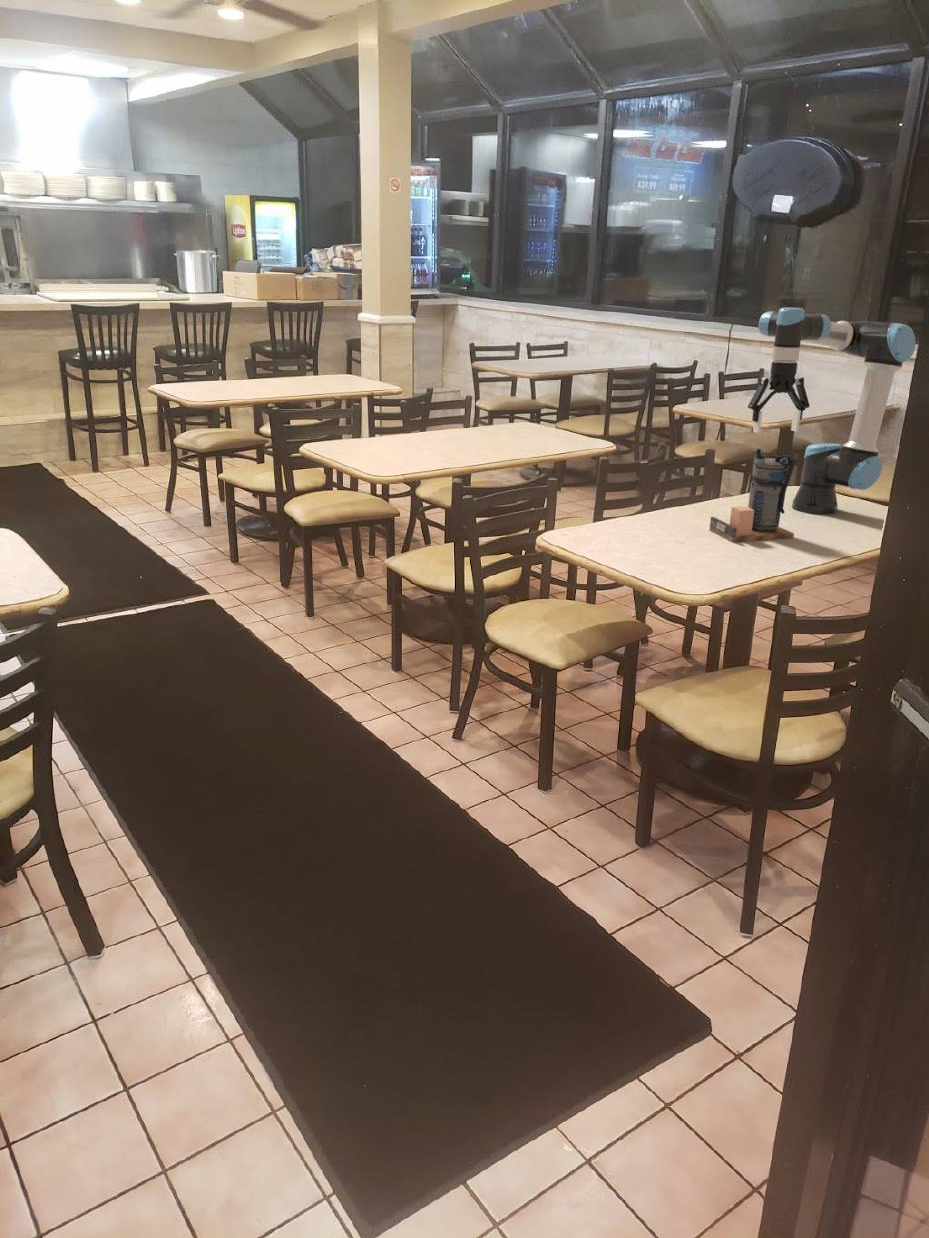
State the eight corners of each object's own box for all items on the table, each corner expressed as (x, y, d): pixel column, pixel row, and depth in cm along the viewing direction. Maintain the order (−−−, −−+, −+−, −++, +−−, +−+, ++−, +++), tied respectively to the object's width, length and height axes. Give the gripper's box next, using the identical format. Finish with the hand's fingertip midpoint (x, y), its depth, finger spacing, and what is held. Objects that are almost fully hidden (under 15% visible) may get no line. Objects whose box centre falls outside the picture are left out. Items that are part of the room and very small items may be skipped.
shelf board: (768, 526, 315) (770, 513, 314) (793, 538, 303) (795, 524, 301) (708, 530, 309) (710, 516, 308) (731, 542, 297) (732, 528, 295)
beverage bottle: (776, 535, 299) (787, 456, 290) (737, 527, 307) (747, 450, 299) (790, 529, 306) (801, 452, 297) (752, 522, 315) (762, 446, 306)
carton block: (742, 530, 304) (745, 506, 301) (751, 534, 300) (754, 510, 297) (728, 531, 303) (731, 507, 300) (737, 535, 298) (740, 510, 296)
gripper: (812, 359, 295) (802, 428, 302) (741, 360, 288) (733, 430, 296) (827, 362, 288) (817, 432, 296) (755, 363, 282) (746, 435, 289)
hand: (775, 431), depth 296 cm, fingers open, 13 cm apart
